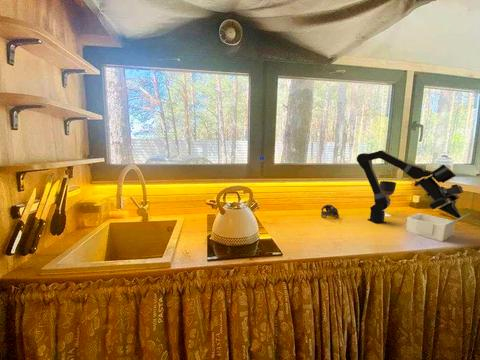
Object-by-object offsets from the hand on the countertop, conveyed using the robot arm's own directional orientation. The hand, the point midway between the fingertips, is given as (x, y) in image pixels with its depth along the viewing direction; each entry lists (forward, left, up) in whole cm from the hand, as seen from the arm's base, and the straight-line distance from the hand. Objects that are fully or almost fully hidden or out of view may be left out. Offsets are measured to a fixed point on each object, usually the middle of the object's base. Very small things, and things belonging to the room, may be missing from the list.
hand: (459, 217), depth 102 cm
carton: (-3, +9, -11) cm, 14 cm away
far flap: (0, +1, -1) cm, 1 cm away
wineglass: (0, +39, -11) cm, 40 cm away
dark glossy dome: (-36, +42, -11) cm, 56 cm away
